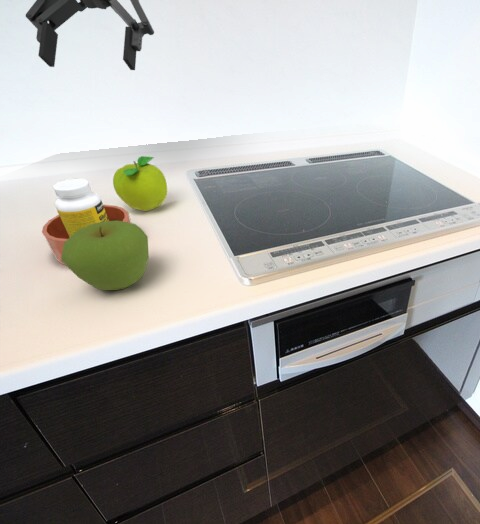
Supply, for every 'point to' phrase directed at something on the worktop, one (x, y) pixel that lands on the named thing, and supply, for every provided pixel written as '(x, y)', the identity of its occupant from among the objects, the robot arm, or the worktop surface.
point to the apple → (107, 254)
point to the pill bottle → (78, 205)
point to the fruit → (140, 185)
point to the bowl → (58, 234)
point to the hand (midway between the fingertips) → (88, 63)
